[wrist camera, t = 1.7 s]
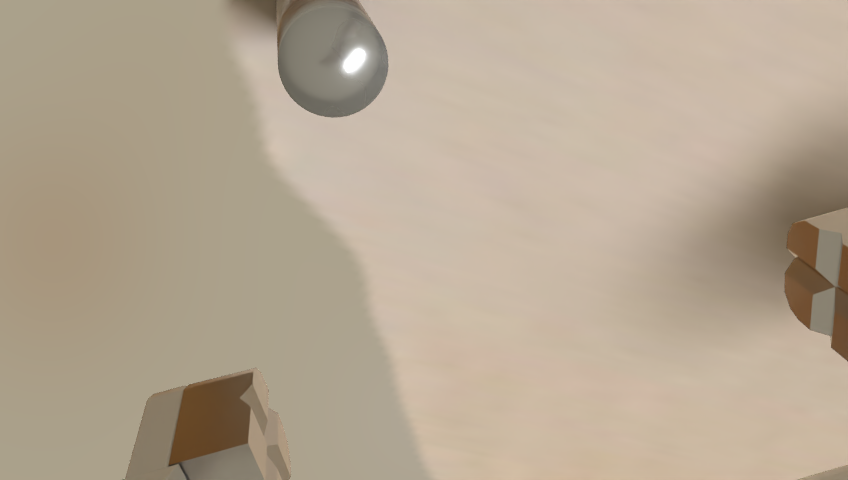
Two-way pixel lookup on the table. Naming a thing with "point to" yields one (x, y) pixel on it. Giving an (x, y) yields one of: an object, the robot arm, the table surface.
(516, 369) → the table surface
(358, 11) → the pin
